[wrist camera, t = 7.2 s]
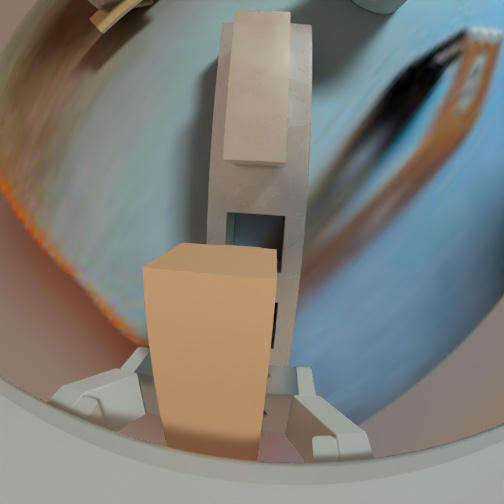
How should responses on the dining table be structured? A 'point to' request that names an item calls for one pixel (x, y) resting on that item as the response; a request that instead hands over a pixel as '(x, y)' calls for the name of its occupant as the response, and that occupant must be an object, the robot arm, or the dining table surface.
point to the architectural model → (113, 11)
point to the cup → (380, 5)
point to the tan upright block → (211, 344)
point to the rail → (267, 180)
